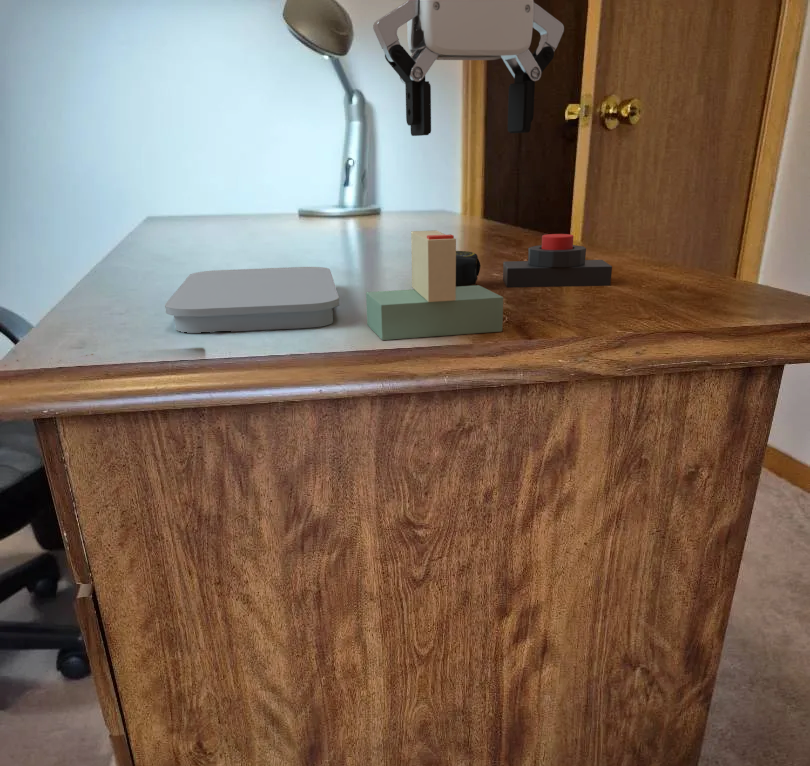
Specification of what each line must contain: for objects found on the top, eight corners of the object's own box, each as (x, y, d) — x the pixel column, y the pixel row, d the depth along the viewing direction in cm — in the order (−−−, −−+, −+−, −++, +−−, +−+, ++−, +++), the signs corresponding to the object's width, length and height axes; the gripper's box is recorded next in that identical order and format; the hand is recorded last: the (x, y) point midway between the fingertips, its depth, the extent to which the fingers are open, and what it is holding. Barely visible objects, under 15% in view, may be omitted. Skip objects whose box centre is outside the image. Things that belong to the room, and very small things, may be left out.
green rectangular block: (478, 317, 77) (479, 285, 75) (502, 331, 70) (503, 297, 69) (367, 324, 74) (365, 292, 73) (382, 340, 68) (380, 304, 67)
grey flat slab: (163, 336, 72) (159, 310, 71) (195, 290, 95) (192, 271, 94) (341, 327, 74) (340, 302, 73) (330, 285, 97) (329, 265, 96)
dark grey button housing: (600, 278, 97) (603, 243, 95) (611, 286, 91) (614, 249, 89) (502, 279, 98) (503, 245, 96) (506, 288, 92) (508, 252, 90)
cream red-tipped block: (412, 287, 74) (411, 228, 72) (436, 286, 75) (436, 227, 72) (428, 302, 67) (427, 236, 65) (455, 300, 68) (456, 235, 65)
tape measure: (417, 291, 91) (416, 257, 90) (427, 282, 97) (427, 249, 96) (475, 292, 90) (476, 257, 88) (482, 282, 96) (483, 249, 94)
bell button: (569, 249, 94) (571, 233, 94) (574, 252, 91) (575, 236, 90) (539, 249, 94) (540, 234, 94) (543, 253, 91) (544, 237, 90)
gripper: (544, -88, 69) (535, 133, 76) (355, -102, 63) (365, 137, 71) (592, -113, 62) (577, 130, 70) (386, -130, 57) (394, 135, 65)
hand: (470, 134), depth 70 cm, fingers open, 9 cm apart
